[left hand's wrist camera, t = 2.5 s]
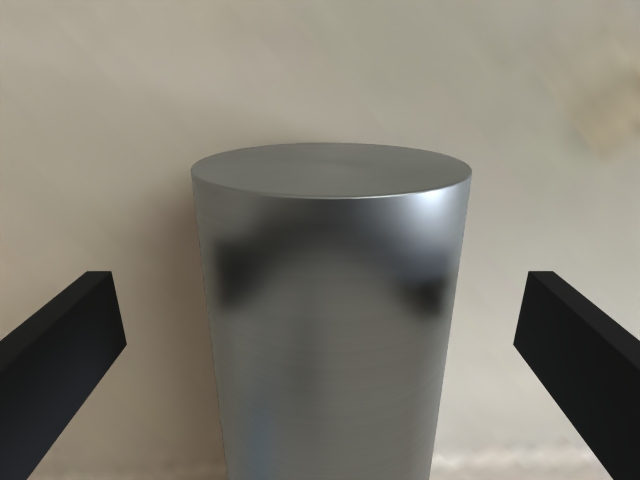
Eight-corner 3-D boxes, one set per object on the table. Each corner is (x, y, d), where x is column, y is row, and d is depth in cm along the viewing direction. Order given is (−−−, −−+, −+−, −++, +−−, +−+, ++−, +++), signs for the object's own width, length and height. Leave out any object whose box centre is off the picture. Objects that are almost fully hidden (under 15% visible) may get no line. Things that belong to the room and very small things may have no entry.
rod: (227, 142, 16) (138, 195, 9) (431, 142, 16) (528, 197, 8) (259, 525, 25) (229, 725, 17) (392, 527, 25) (423, 729, 17)
